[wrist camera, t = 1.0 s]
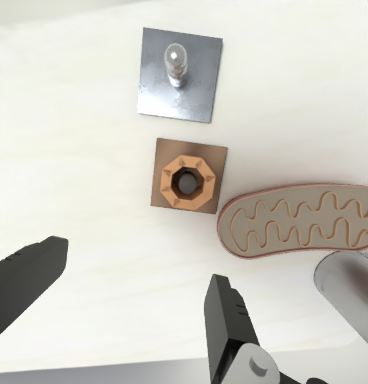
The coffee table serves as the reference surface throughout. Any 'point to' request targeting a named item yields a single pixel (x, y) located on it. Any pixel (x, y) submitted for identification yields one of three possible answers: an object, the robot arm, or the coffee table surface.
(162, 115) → the silver peg on base
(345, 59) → the coffee table surface
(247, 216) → the anatomical model
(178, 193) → the collar
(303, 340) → the coffee table surface
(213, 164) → the stand
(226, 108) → the coffee table surface
